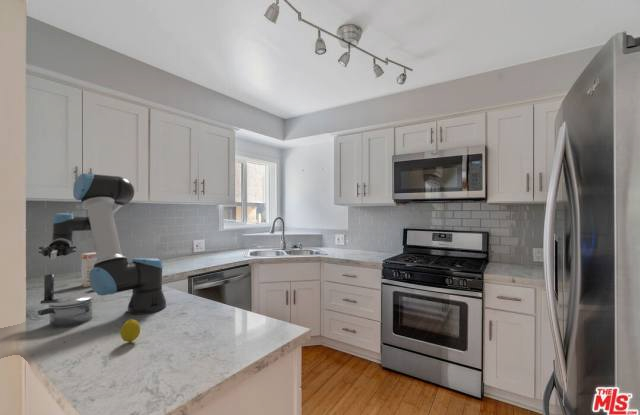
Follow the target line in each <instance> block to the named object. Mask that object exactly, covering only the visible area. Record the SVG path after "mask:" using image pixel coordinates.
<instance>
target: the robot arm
mask: <svg viewBox="0 0 640 415" xmlns="http://www.w3.org/2000/svg"><path fill="white" fill-rule="evenodd" d="M72 189H73V191H72V195H73V199H75V200H76V201H81V202H80V203H81V206H82V207H83V208H86V209H87V213H88V214H87V215H88V216H74V214H73V213H71V212H70V213H69V212H66V213H65V212H61V213H60V212H58V213H55V214H54V215H53V219H52V237H51V239H52V242H51V243H50V244H49V245H48V246H47V247H43V246H40V247H38V253H39V254H42V256H44V257H49V259H50V260H56V259H57V257H60V256H68V255H69V254H72V253H76V252H77V247H76V246H73V244H74V241H73V232H88V231H91V235H92V240H93V245H94V246H93V247H94V252H96V256H97V261H96V263H95V264H94V265H93V266H94V268H93V269H91V270H90V272H89V276H90V277H89V282H90V285H91V286H90V287H91V289H92V291H93V292H94V293H95V294H96V295H98V296H109V295H114V294H117V293H122V292H125V291H132V293H131V297H130V299H129V302H128V305H127V313H129V314H131V315H143V314H144V315H145V314H151V313H155V312H159V311H162V310H163V309H165V308H166V307H167V299H166V296H165V294H164V292H163V261H162V259H160V258H155V257H135V258H132V262H129V261H128V257H127V256H124V255H123V254H122V249H121V245H120V240H119V234H118V230H117V225H116V220H115V216H114V214H115V213H116V212H118V210H119V209H120V208H121V207H123V206H126V205H128V204H130V202H132V200H133V198H134V196H135V188H134V186H133V184H132V183H131V181H129V180H128V179H127V178H125V177H122V176H117V175H116V176H115V175H105V174H94V173H80V174H79V175H78V176H77V177H76V179H75V181H74V184H73V188H72Z"/></svg>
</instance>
